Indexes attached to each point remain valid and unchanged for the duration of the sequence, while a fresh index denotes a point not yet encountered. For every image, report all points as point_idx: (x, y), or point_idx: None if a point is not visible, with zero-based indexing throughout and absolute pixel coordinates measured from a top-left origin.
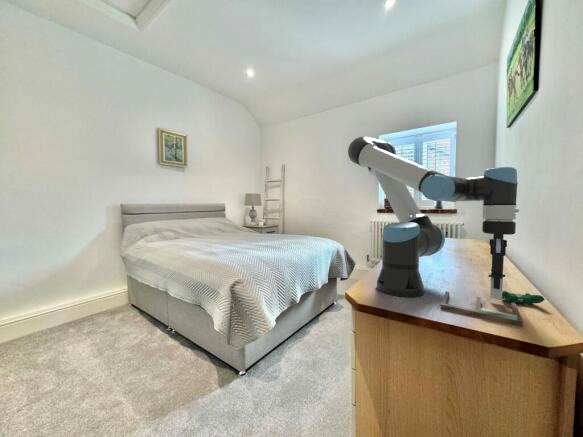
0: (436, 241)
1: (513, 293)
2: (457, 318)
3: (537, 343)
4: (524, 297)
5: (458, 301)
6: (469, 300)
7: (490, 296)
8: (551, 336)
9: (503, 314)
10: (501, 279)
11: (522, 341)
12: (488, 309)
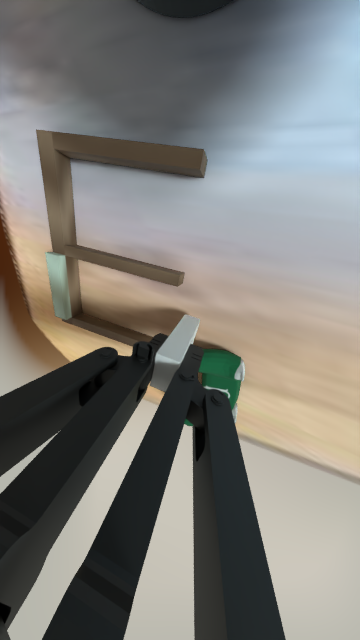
0: None
1: (236, 390)
2: (32, 193)
3: (32, 311)
4: None
5: (160, 212)
6: (188, 253)
7: (183, 316)
8: (68, 342)
9: (52, 295)
10: (152, 379)
11: (23, 293)
12: (59, 272)
